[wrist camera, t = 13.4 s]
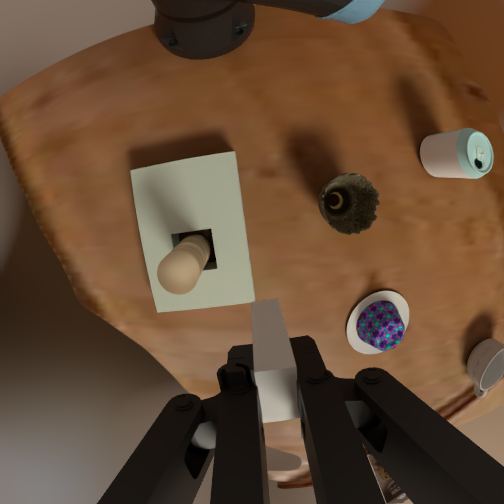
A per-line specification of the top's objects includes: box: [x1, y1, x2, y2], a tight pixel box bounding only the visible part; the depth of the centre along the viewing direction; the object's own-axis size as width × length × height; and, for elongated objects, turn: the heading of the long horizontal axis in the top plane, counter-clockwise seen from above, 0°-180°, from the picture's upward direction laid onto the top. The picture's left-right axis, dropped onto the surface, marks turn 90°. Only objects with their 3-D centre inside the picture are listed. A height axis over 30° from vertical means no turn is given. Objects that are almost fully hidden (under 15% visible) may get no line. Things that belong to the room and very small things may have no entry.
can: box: [420, 128, 493, 179], centre depth 34 cm, size 7×7×12 cm
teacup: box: [467, 339, 504, 398], centre depth 45 cm, size 14×11×8 cm
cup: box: [318, 173, 379, 235], centre depth 37 cm, size 8×7×8 cm
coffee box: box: [369, 455, 409, 504], centre depth 46 cm, size 9×6×16 cm
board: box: [130, 151, 255, 312], centre depth 40 cm, size 20×14×4 cm
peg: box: [157, 234, 211, 295], centre depth 35 cm, size 4×4×14 cm
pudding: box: [347, 291, 409, 354], centre depth 43 cm, size 12×12×5 cm
